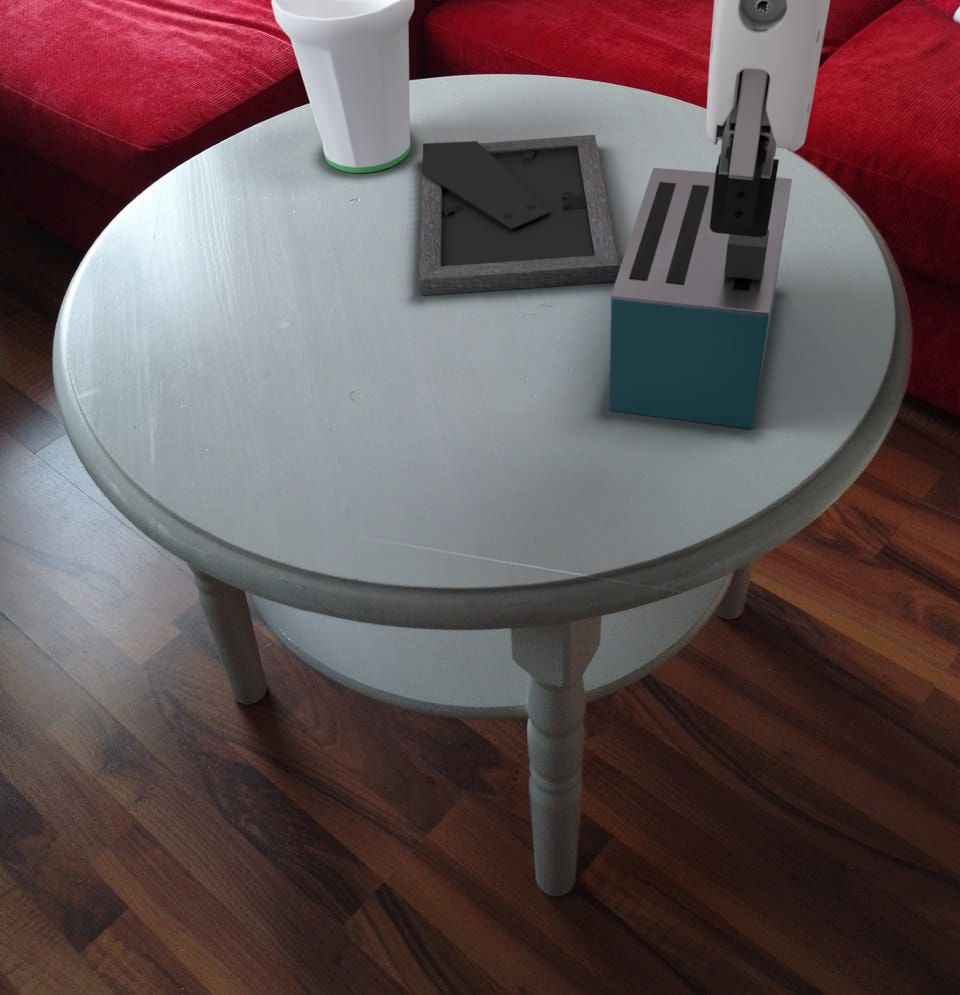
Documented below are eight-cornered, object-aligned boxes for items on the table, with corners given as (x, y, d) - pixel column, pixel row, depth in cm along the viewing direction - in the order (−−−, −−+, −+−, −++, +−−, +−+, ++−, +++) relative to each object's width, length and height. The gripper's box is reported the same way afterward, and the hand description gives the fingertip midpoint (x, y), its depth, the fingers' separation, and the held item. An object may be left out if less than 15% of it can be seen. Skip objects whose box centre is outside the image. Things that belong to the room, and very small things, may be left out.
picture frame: (425, 162, 103) (421, 295, 89) (423, 143, 102) (418, 275, 87) (594, 150, 102) (618, 281, 88) (595, 130, 101) (618, 260, 87)
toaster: (774, 292, 86) (792, 177, 78) (751, 429, 75) (769, 311, 68) (648, 279, 88) (653, 166, 81) (608, 410, 78) (610, 294, 70)
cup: (355, 109, 111) (329, -48, 100) (456, 135, 106) (441, -28, 95) (277, 166, 105) (241, 5, 94) (382, 197, 99) (356, 30, 88)
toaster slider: (764, 262, 71) (769, 229, 69) (761, 280, 70) (766, 247, 68) (727, 259, 72) (731, 226, 70) (723, 276, 71) (727, 243, 69)
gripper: (864, -56, 43) (795, 315, 57) (879, -177, 53) (816, 165, 66) (674, -64, 45) (651, 298, 58) (722, -180, 54) (692, 154, 68)
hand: (739, 226), depth 62 cm, fingers closed
